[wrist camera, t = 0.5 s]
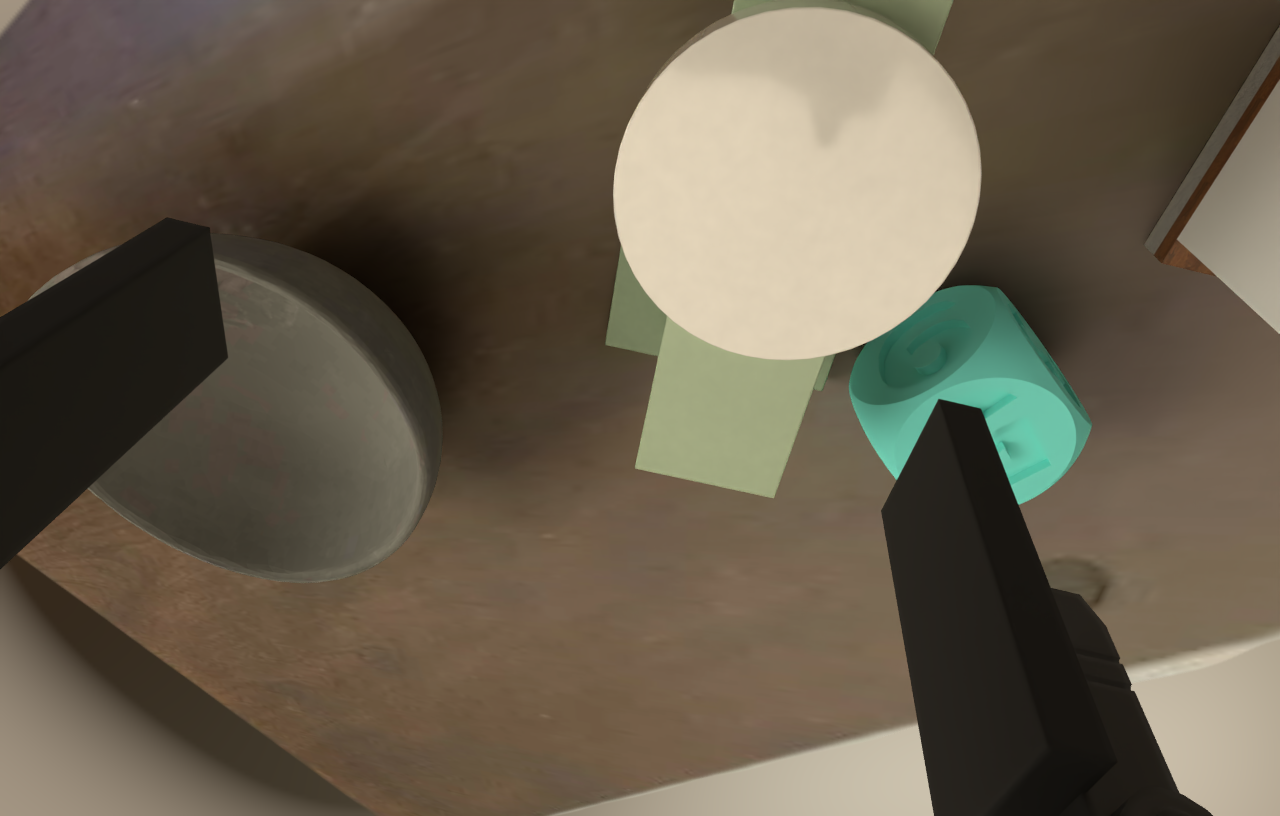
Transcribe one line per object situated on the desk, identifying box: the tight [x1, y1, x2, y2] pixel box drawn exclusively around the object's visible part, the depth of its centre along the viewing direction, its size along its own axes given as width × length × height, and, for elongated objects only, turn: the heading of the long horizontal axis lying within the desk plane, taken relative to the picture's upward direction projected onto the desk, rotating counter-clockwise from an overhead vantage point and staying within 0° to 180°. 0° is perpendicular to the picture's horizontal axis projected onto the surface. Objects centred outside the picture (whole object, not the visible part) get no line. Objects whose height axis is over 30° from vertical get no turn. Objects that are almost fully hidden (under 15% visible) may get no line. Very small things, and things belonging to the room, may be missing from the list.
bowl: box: [28, 233, 443, 583], centre depth 43 cm, size 20×20×10 cm
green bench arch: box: [605, 0, 953, 498], centre depth 30 cm, size 28×12×12 cm, turn 170°
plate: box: [613, 0, 982, 360], centre depth 25 cm, size 11×11×2 cm
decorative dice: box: [849, 285, 1092, 505], centre depth 38 cm, size 8×8×8 cm
